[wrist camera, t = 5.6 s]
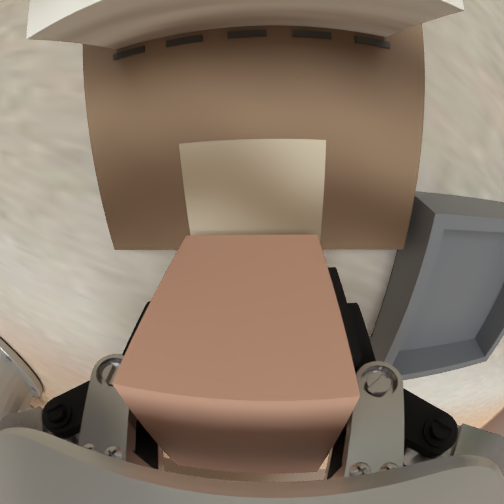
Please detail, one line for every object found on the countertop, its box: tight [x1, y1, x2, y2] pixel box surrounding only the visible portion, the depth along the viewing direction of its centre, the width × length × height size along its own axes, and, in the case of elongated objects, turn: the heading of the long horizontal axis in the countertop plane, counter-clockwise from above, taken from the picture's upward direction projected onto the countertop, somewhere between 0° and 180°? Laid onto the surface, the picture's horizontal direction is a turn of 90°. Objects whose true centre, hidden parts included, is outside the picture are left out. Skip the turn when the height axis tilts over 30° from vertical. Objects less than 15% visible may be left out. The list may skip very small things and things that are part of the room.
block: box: [112, 235, 360, 473], centre depth 8 cm, size 5×4×6 cm
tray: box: [370, 192, 504, 380], centre depth 12 cm, size 10×9×2 cm
